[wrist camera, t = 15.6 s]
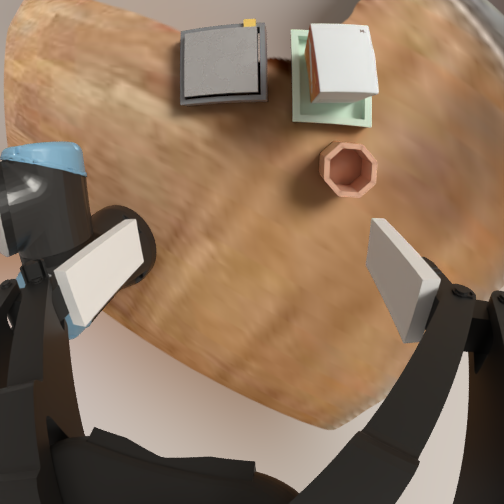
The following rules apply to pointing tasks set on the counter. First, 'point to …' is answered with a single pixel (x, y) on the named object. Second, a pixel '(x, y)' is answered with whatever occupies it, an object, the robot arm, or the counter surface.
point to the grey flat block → (228, 99)
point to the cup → (348, 168)
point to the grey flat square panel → (221, 62)
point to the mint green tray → (321, 112)
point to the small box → (340, 63)
